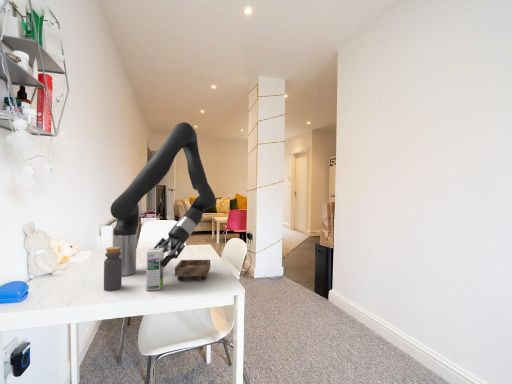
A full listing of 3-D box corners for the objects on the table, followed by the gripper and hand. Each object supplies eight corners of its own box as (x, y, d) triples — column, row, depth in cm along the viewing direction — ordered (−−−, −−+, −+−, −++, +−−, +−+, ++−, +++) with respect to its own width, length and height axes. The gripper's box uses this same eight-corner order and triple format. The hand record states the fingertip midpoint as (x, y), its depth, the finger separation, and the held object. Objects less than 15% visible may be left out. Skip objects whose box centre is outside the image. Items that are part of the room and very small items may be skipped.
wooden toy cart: (174, 282, 103) (174, 268, 103) (181, 272, 116) (181, 259, 116) (207, 281, 105) (207, 267, 105) (210, 272, 118) (210, 259, 118)
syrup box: (145, 291, 94) (146, 251, 94) (147, 285, 99) (148, 248, 99) (162, 289, 95) (163, 250, 95) (163, 284, 101) (164, 247, 101)
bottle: (117, 284, 101) (118, 245, 101) (124, 287, 97) (124, 247, 97) (101, 288, 96) (101, 248, 96) (107, 292, 92) (108, 250, 92)
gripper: (167, 223, 109) (140, 255, 100) (187, 226, 100) (159, 261, 91) (178, 234, 113) (153, 265, 104) (198, 237, 104) (172, 273, 95)
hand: (156, 263), depth 98 cm, fingers open, 8 cm apart
